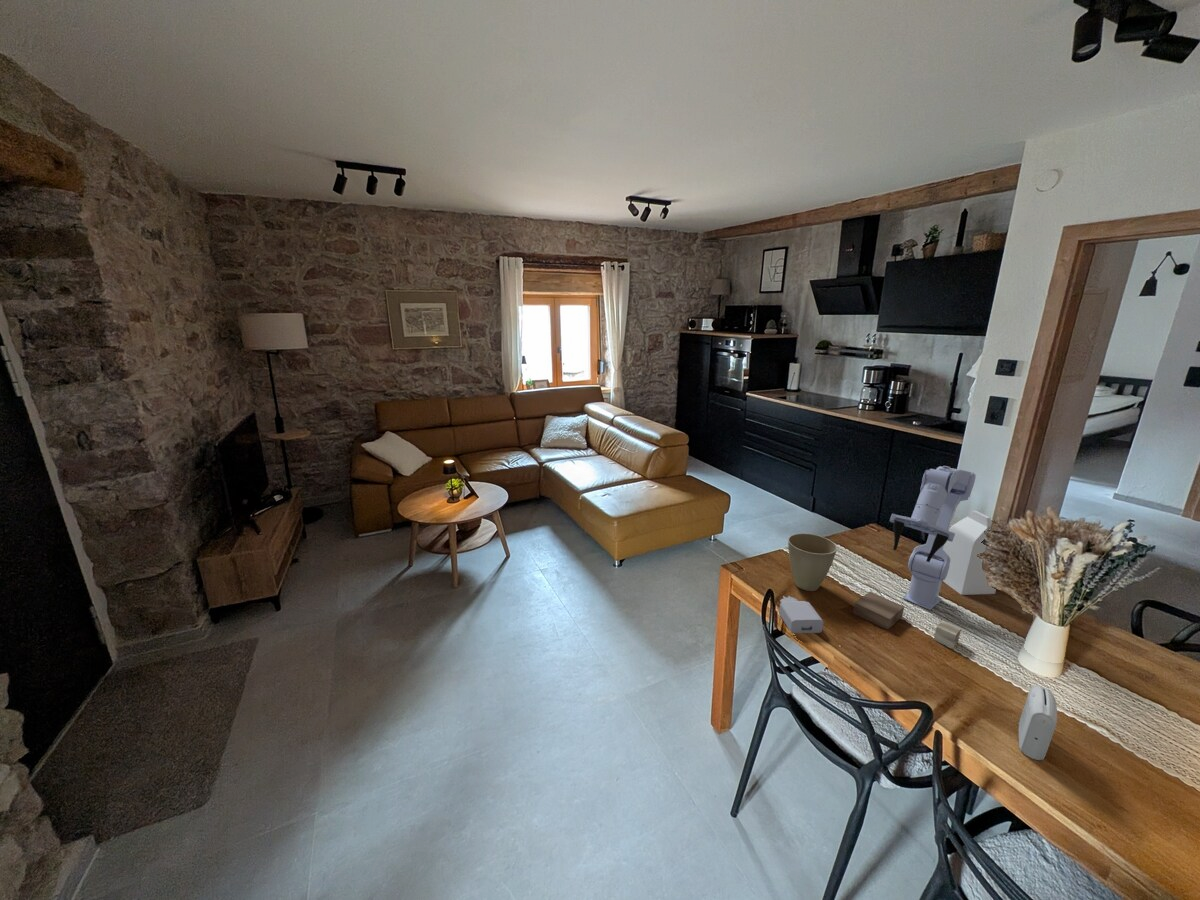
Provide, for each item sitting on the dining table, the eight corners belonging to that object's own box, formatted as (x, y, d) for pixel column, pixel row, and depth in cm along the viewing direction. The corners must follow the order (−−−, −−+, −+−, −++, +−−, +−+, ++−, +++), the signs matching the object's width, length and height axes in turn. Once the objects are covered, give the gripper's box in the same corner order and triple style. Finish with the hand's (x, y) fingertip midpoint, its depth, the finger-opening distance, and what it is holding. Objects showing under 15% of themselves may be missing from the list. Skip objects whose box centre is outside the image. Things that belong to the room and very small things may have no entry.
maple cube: (939, 633, 133) (942, 620, 132) (958, 642, 130) (961, 628, 129) (933, 640, 131) (936, 626, 130) (952, 648, 127) (955, 635, 126)
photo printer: (1045, 765, 95) (1062, 717, 91) (1017, 753, 97) (1032, 706, 94) (1042, 731, 102) (1057, 686, 99) (1017, 721, 105) (1030, 676, 101)
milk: (934, 574, 163) (949, 507, 156) (966, 574, 163) (982, 506, 156) (961, 594, 151) (978, 522, 144) (995, 593, 152) (1014, 521, 144)
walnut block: (867, 602, 149) (869, 591, 148) (901, 617, 141) (904, 606, 140) (852, 613, 143) (854, 602, 142) (887, 630, 135) (889, 619, 134)
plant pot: (840, 595, 152) (847, 552, 147) (798, 599, 150) (803, 555, 145) (814, 571, 166) (819, 531, 161) (775, 575, 164) (779, 534, 159)
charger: (799, 602, 149) (821, 633, 134) (771, 603, 148) (790, 634, 134) (801, 589, 147) (823, 619, 133) (772, 590, 147) (792, 620, 133)
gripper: (898, 495, 127) (881, 540, 124) (962, 514, 118) (946, 562, 116) (896, 504, 132) (880, 546, 130) (957, 522, 124) (941, 568, 121)
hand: (911, 554), depth 123 cm, fingers open, 7 cm apart
